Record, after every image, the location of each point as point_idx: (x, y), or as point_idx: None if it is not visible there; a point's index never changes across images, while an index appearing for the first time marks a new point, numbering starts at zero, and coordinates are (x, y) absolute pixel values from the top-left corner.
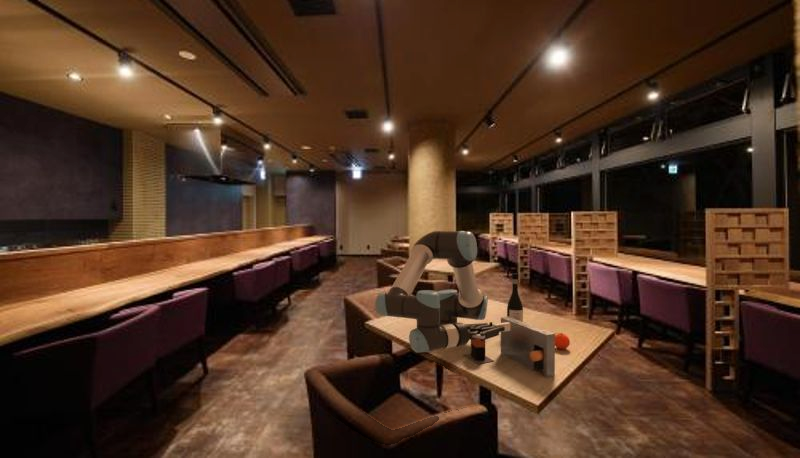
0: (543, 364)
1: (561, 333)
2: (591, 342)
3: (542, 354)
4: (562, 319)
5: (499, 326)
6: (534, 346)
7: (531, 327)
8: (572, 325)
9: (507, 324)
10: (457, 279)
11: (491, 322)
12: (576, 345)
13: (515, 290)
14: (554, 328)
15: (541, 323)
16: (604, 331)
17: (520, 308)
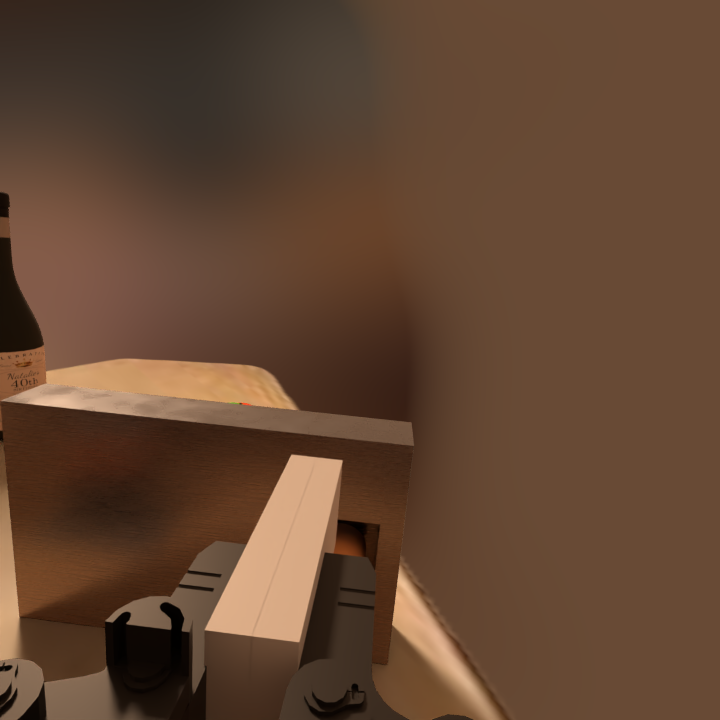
0: None
1: (241, 403)
2: (274, 406)
3: (362, 556)
4: (137, 360)
5: (314, 601)
6: None
7: (265, 419)
8: (177, 371)
9: (335, 492)
10: None
11: (164, 615)
12: None
13: (3, 266)
14: (143, 389)
15: (91, 383)
16: (257, 371)
17: (35, 340)
